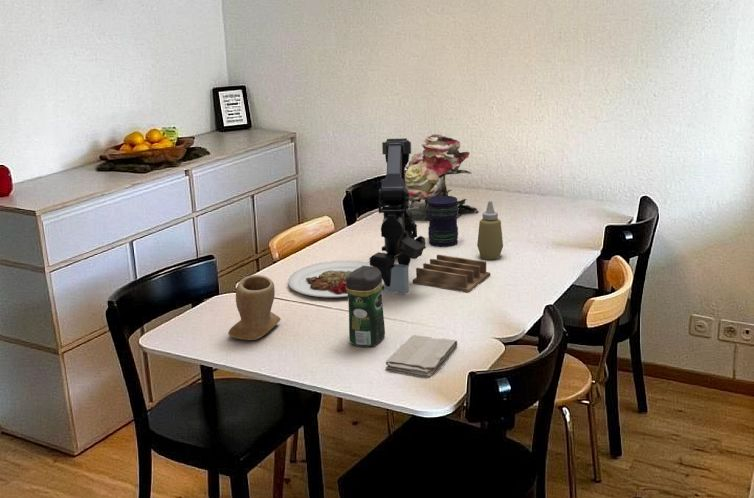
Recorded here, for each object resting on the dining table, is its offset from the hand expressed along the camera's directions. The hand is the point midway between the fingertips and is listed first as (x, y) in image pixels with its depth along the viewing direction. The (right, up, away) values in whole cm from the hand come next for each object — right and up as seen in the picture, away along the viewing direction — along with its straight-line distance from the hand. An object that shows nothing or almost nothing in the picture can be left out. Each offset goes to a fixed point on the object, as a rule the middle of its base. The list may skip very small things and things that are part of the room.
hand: (396, 281), depth 239 cm
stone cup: (-36, -12, -22) cm, 44 cm away
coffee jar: (-8, -14, -30) cm, 34 cm away
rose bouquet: (+16, +22, +74) cm, 79 cm away
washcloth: (+5, -17, -41) cm, 44 cm away
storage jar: (+17, +11, +41) cm, 46 cm away
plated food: (-17, -1, +10) cm, 19 cm away
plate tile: (0, -3, +1) cm, 3 cm away
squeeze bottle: (+30, +6, +25) cm, 40 cm away
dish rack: (+16, 0, +8) cm, 18 cm away
